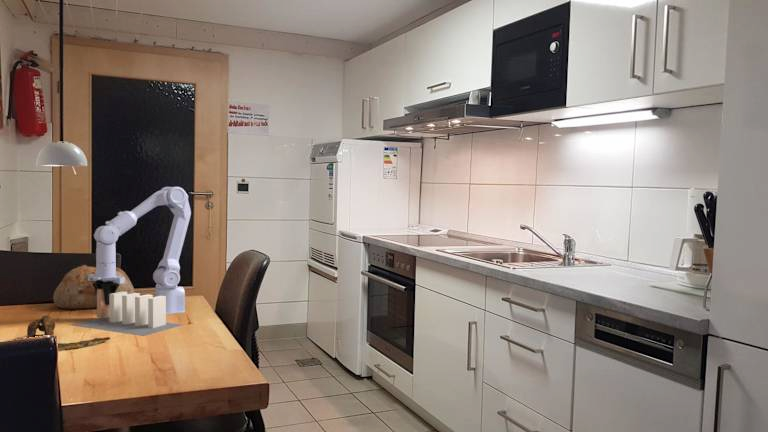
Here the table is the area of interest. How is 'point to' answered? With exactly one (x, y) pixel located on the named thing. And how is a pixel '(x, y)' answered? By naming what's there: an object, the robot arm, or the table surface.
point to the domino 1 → (102, 305)
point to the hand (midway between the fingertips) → (106, 304)
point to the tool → (48, 329)
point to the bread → (83, 289)
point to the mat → (123, 326)
